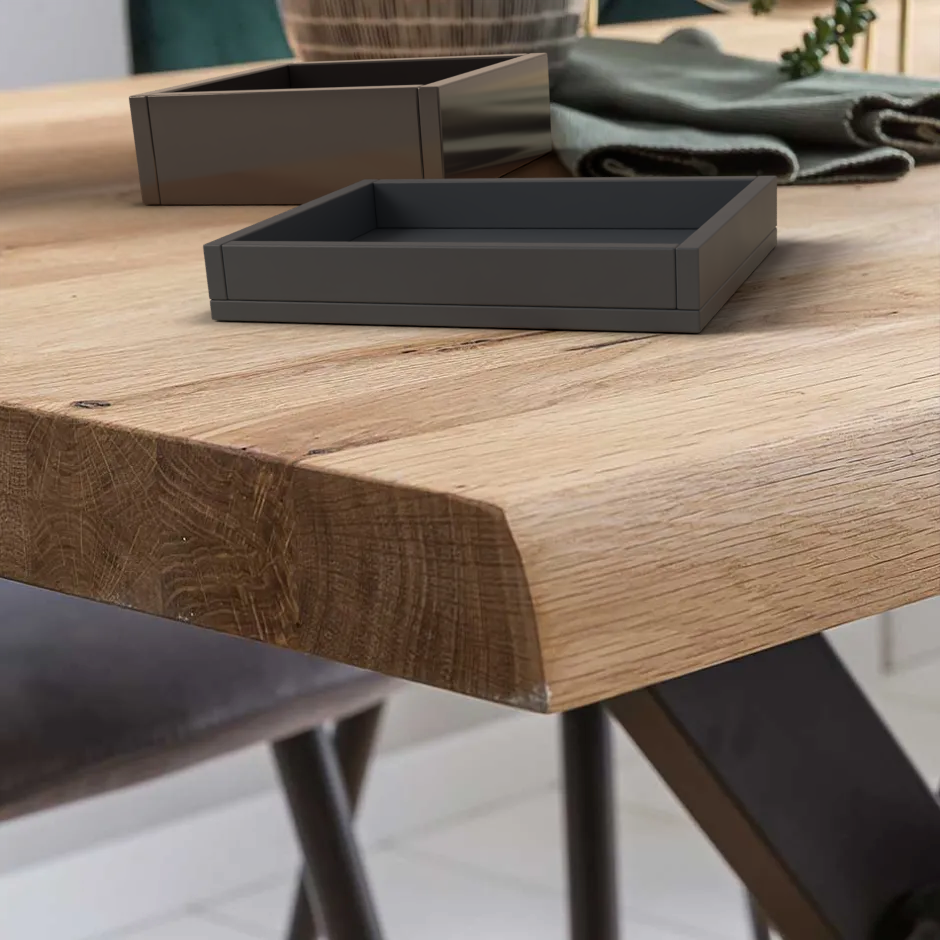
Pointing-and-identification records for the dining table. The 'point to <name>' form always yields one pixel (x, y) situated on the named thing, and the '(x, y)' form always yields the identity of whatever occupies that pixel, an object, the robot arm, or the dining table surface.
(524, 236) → the tray
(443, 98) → the open square box
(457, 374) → the dining table surface
